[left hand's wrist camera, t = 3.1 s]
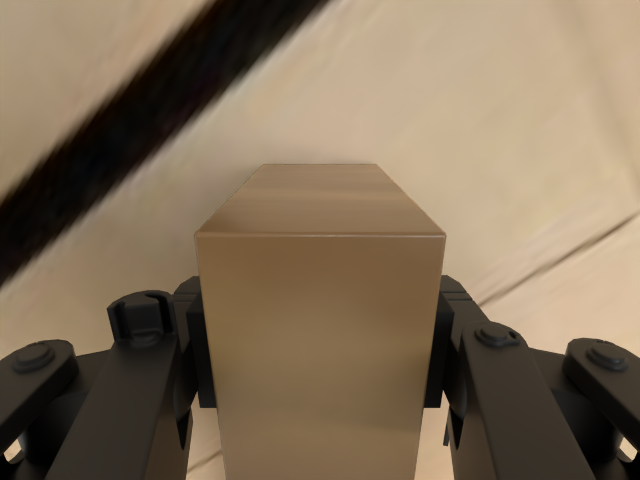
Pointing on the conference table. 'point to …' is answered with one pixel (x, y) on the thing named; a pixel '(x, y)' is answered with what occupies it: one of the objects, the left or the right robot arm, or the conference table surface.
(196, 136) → the conference table surface
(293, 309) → the bar
